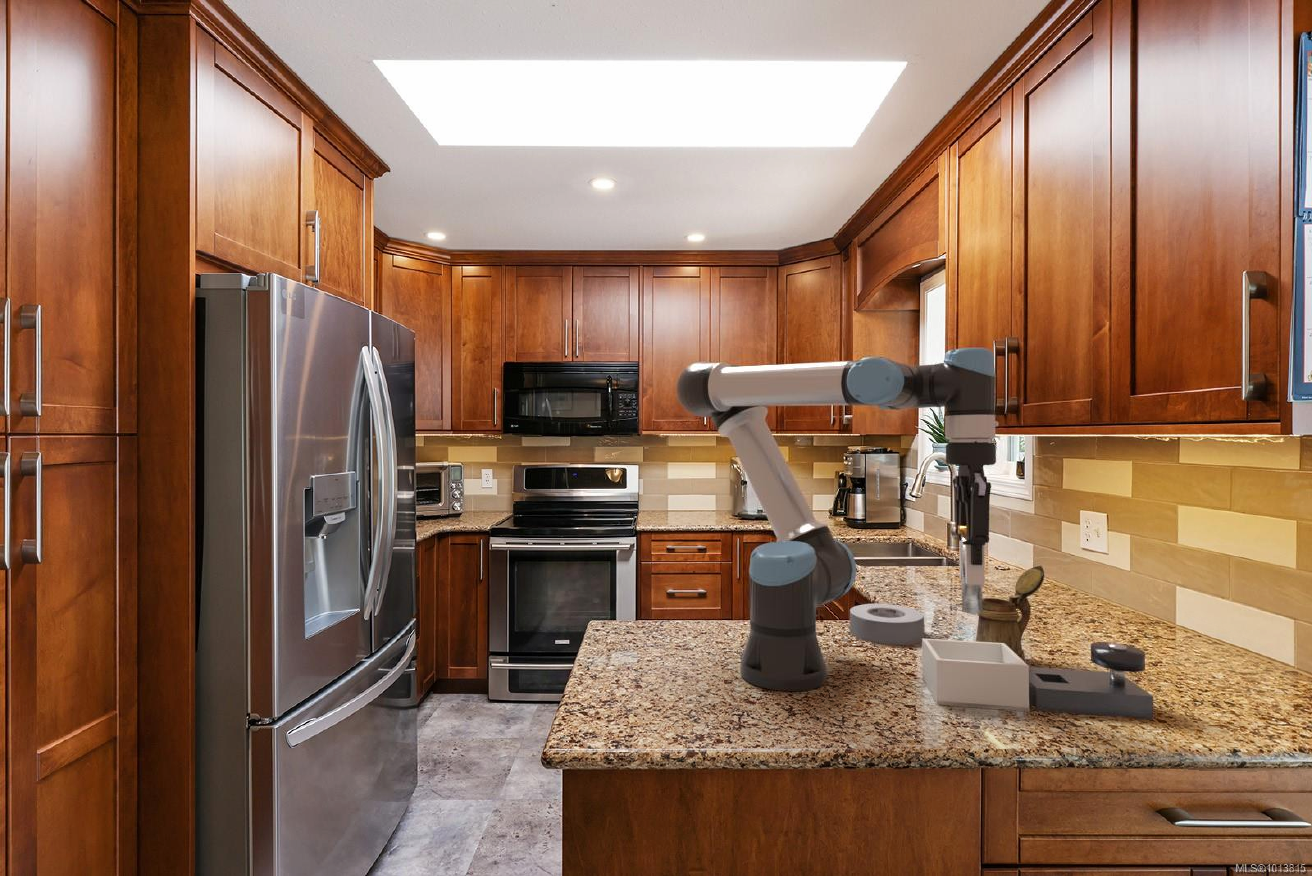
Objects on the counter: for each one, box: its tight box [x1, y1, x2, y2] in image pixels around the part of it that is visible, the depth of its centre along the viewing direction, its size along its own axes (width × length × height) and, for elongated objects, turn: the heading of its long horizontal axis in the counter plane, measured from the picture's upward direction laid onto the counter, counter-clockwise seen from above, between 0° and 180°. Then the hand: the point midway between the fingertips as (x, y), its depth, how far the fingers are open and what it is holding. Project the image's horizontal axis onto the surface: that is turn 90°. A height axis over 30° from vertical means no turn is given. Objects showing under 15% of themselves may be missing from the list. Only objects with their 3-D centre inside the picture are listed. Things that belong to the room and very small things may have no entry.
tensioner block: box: [1029, 641, 1154, 720], centre depth 101 cm, size 17×10×10 cm, turn 78°
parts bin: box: [921, 638, 1030, 712], centre depth 105 cm, size 13×11×7 cm
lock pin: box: [958, 525, 983, 615], centre depth 105 cm, size 4×4×14 cm
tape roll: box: [849, 603, 925, 646], centre depth 138 cm, size 15×15×5 cm
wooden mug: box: [975, 565, 1045, 664], centre depth 122 cm, size 9×14×18 cm, turn 93°
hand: (971, 581), depth 105 cm, fingers closed on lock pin, 3 cm apart
